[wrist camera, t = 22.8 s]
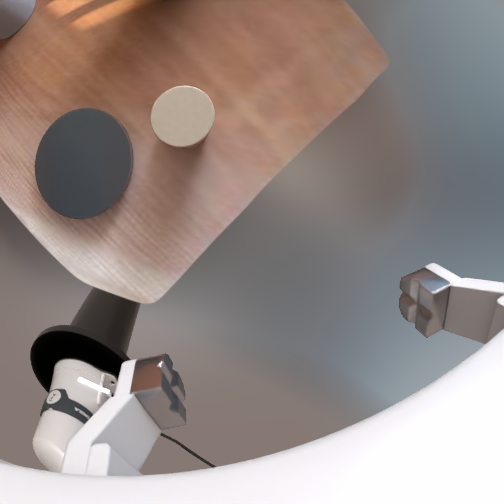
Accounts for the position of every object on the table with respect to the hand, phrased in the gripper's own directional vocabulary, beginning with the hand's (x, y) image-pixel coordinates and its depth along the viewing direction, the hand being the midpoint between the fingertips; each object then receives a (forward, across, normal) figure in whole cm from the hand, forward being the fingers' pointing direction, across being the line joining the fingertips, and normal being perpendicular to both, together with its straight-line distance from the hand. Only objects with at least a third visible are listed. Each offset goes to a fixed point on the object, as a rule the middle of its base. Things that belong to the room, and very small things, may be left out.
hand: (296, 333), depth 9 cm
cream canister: (+34, +2, -10) cm, 36 cm away
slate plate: (+34, +18, -10) cm, 40 cm away
